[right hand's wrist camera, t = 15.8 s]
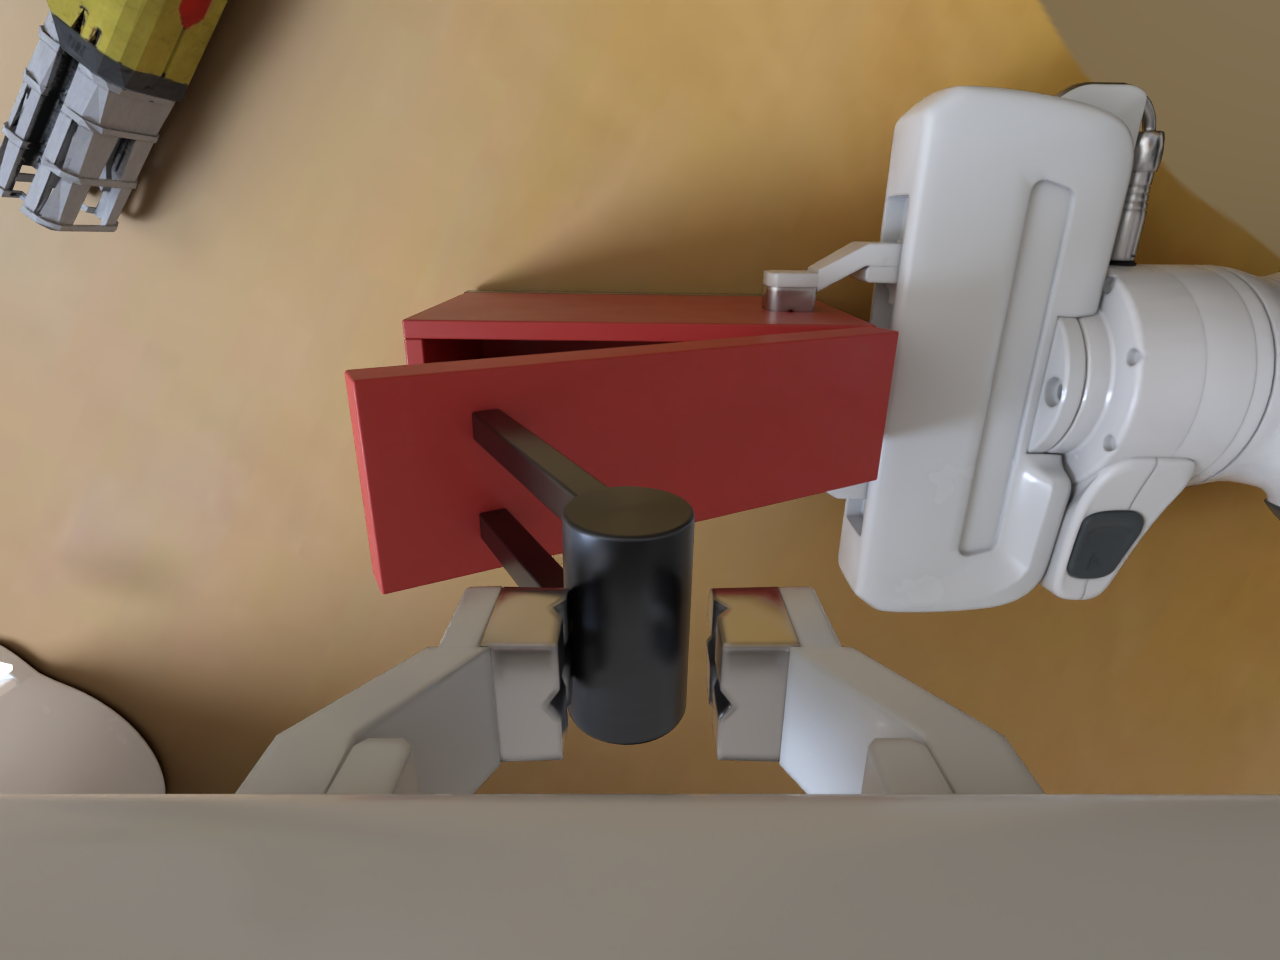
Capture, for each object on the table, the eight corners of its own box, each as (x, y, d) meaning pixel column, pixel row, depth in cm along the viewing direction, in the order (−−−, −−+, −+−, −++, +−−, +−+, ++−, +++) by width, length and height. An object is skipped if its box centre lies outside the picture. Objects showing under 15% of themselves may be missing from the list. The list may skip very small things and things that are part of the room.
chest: (476, 397, 33) (417, 465, 24) (468, 290, 31) (400, 319, 22) (796, 400, 34) (858, 468, 24) (806, 294, 32) (878, 324, 23)
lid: (372, 573, 17) (485, 853, 9) (344, 369, 15) (454, 520, 8) (851, 469, 24) (1121, 580, 17) (870, 325, 22) (1182, 380, 15)
